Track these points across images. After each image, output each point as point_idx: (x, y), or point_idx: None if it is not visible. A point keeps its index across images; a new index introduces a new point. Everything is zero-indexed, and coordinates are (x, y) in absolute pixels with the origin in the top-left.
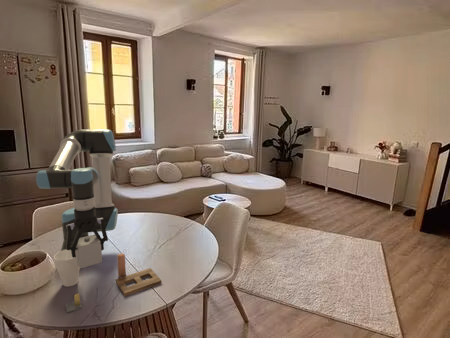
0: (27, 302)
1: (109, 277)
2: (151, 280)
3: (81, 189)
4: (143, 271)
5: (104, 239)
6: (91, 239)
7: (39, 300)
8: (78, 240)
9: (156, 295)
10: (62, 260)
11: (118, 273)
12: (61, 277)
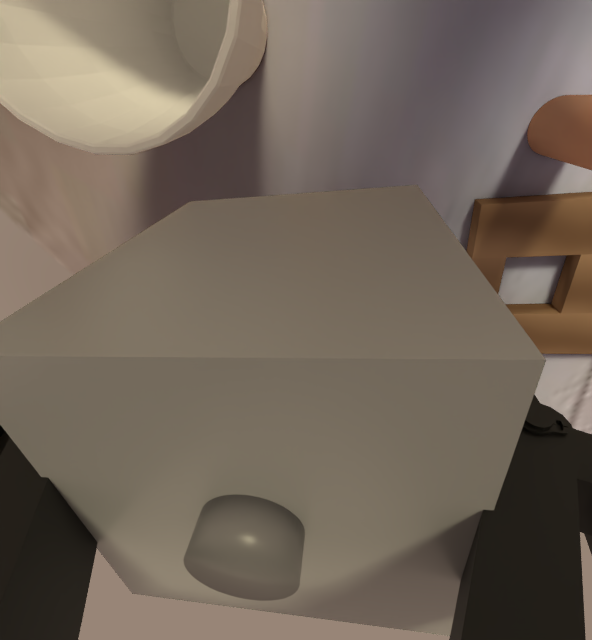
0: (29, 142)
1: (469, 106)
2: None
3: None
4: None
5: (589, 521)
6: (336, 540)
7: (82, 156)
8: (79, 617)
9: (567, 401)
10: (48, 134)
11: (538, 133)
12: (135, 56)
